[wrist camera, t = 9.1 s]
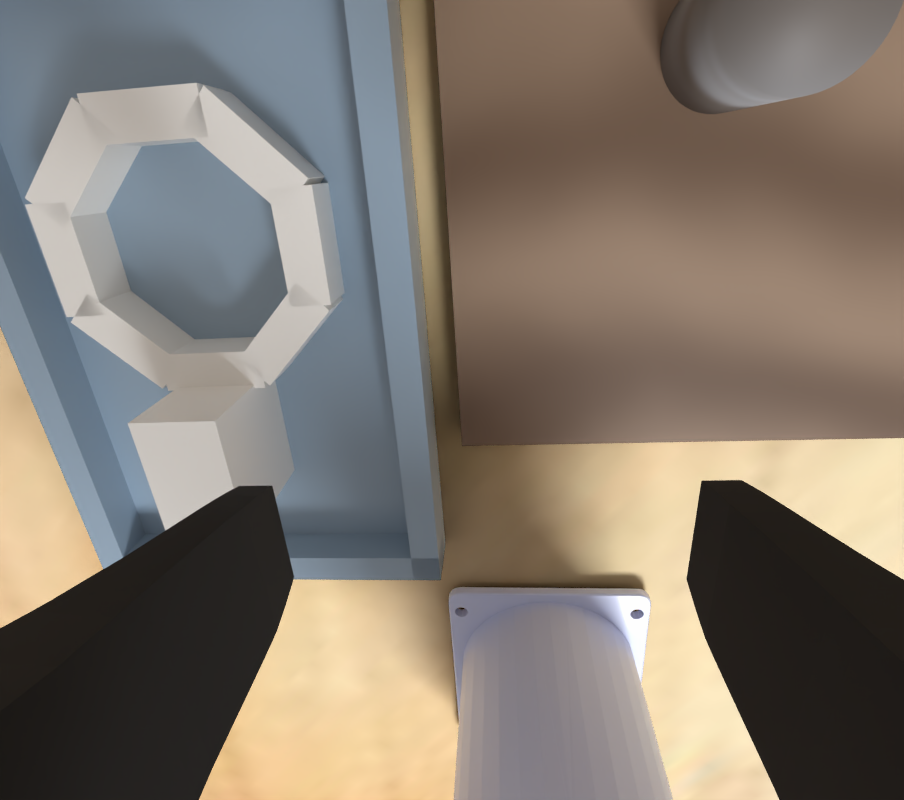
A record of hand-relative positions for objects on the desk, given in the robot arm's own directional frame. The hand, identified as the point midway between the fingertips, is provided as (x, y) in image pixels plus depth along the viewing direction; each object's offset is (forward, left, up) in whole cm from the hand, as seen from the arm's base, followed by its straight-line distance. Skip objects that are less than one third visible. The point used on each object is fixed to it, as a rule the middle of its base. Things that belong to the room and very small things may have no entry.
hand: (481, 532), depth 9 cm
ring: (+2, +9, -9) cm, 12 cm away
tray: (+2, +9, -9) cm, 13 cm away
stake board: (+5, -6, -9) cm, 12 cm away
